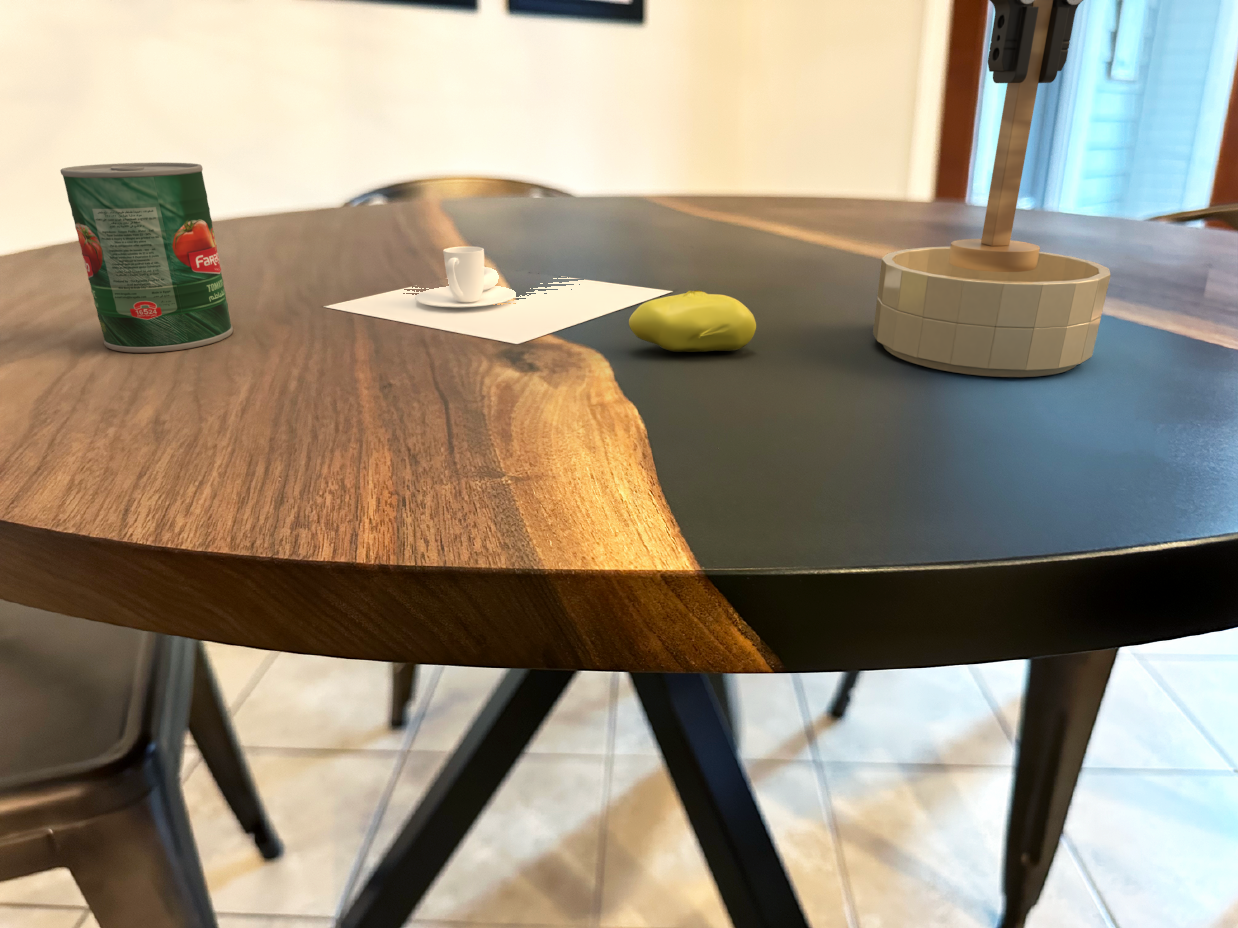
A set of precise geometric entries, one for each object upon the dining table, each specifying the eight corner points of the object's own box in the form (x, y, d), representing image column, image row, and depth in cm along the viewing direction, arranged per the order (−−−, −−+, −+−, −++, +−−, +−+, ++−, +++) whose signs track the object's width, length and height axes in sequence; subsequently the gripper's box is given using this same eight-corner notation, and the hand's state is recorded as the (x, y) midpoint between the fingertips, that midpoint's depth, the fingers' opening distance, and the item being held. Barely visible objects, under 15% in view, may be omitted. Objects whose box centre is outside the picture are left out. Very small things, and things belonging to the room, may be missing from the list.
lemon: (758, 361, 51) (762, 298, 50) (627, 360, 52) (627, 297, 50) (751, 343, 55) (755, 284, 54) (630, 342, 55) (630, 283, 54)
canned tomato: (250, 338, 57) (219, 166, 52) (120, 360, 52) (74, 173, 48) (212, 318, 62) (181, 160, 58) (92, 336, 57) (48, 166, 53)
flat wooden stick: (1004, 256, 54) (1052, -13, 48) (1054, 270, 49) (1114, -25, 43) (932, 259, 53) (972, -15, 47) (976, 273, 49) (1026, -27, 43)
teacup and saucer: (471, 285, 73) (468, 237, 71) (543, 296, 68) (541, 245, 67) (394, 304, 66) (388, 252, 64) (468, 317, 62) (463, 261, 60)
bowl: (1008, 322, 60) (1022, 244, 58) (1139, 374, 49) (1163, 279, 47) (841, 330, 58) (849, 249, 56) (935, 386, 47) (950, 287, 44)
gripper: (1009, -362, 36) (947, 81, 43) (1280, -337, 38) (1180, 81, 45) (921, -288, 43) (880, 84, 50) (1156, -270, 45) (1086, 84, 52)
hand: (1023, 82), depth 47 cm, fingers closed on flat wooden stick, 1 cm apart
